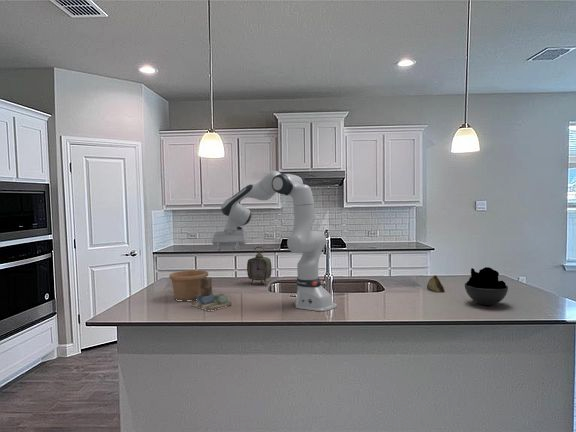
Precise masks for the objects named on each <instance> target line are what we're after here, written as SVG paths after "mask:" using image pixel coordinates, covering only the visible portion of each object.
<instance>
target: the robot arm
mask: <svg viewBox="0 0 576 432" xmlns="http://www.w3.org/2000/svg"><path fill="white" fill-rule="evenodd" d="M276 194H280V195H284V196H290V197H291V198H292V206H293V216H294V219H293V220H294V222H293V226H292V227H293V228H292V232H291V234H290V235H289V236H288V238H287V241H286V243H287V244H286V245H287V248H288V250H289V251H290V252H291V253H294V254H301V258H300V259H299V261H298V262H297V265H296V267H297V278H296V285H297V290H296V299H295V303H294V305H295V308H296V309H301V310H302V309H303V310H307V311H308V310H309V311H315V312H326V311H330V310H333V309H335V308H336V307H338V305H337V303H335V302H333V298H332V295H331V293H330V292H329V291H327V289H325V288H324V286H323V285H322V283H323V279H322V280H320V278H319V263H320V258H321V254H322V251H323V249H324V247H326V244H327V237H326V235H325V233H324V232H322V231H319V230H312V226H313V223H314V222H315V220H316V210H315V200H314V195H313V192H312V189H311V186H310V185H307V182H306V179H305V178H304V177H302V176H301V175H299V174H292V173H281V172H280V171H278V170H271V171H270V172H269V173H267V174H266V175H265V176H264V177H262V178H261V180H260V181H258V182H257V183H255V184H248V185H246V186H245V187H243V188H241V190H239V191H238V192H236V193H235V194H233V195H232V196H231V197H229V198H228V199H225V200H224V201H223V203H222V205H221V208H220V210H221V211H222V215H224V216H227V220H226V224H225V226H224V230H223V231H216V232H215V233H214V234H213V235H212V236H213V237H212V239H211V244H212V245H213V246H217V248H216V249H217V251H221V250H222V248H221V246H232V250H233V251H237V249H238V248H239V247H240V246H244V245H246V244H247V232H246V230H245V227H243V226H247V225H248V224H249V222H250V221H251V218H252V211H251V210H250V209H249V208H247V207H246V206H244V205H242V204H241V203H240V202H241V201H243V200H245V199H248V198H249V199H250V198H251V199H255V200H259V201H268V200H270V199H271V198H273V196H275V195H276Z"/></svg>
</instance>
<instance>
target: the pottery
mask: <svg viewBox="0 0 576 432" xmlns="http://www.w3.org/2000/svg"><path fill="white" fill-rule="evenodd" d="M168 277H169V279H170V280H171V283H172V289H173V295H174V300H175V299H177V300H182V301H187V300H196V299H197V295H200V294H201V289H200V279H201V278H203V277H209V272H208V271H206V270H203V269H202V270H201V269H200V270H198V269H191V270H180V271H176V272H172V273H170V274H169V276H168ZM177 300H176V301H177ZM196 301H197V300H196Z"/></svg>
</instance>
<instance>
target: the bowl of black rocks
mask: <svg viewBox="0 0 576 432" xmlns="http://www.w3.org/2000/svg"><path fill="white" fill-rule="evenodd" d="M499 275H500V273H499V272H498V271H497V270H495V269H493V268H491V267H489V266H487V267H486V266H485V267H483V268H481V269H479V271H477V270H476V271H475V268H473V267H471V269H470V277H469V278H468V280H467V281H466V282H465V283H464V290H465V292H466V294H467V295H468V296H469V298H470V299H471V300H473V301H474V302H476V303H478V304H480V305H483V306H492V305H495V304H499V303H500V302H501V301H503V300H504V298H505V297H506V296H507V293H508V291H509V286H508V285H507V284H506V282H505V281H504V280H499Z"/></svg>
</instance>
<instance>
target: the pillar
mask: <svg viewBox="0 0 576 432" xmlns="http://www.w3.org/2000/svg"><path fill="white" fill-rule="evenodd" d="M212 284H213V283H212V277H211V276H210V277H209V276H207V277H203V278H201V279H200V289H201V296H210V295H211V294H213V289H212V288H213V285H212Z"/></svg>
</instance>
